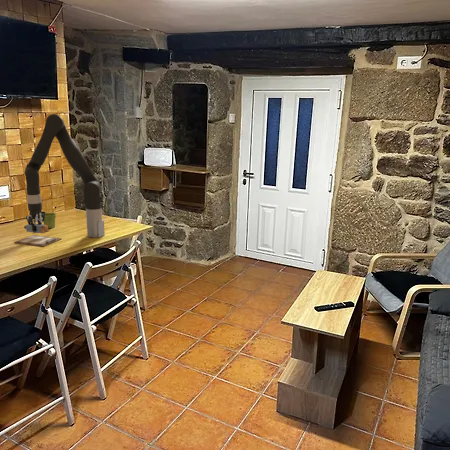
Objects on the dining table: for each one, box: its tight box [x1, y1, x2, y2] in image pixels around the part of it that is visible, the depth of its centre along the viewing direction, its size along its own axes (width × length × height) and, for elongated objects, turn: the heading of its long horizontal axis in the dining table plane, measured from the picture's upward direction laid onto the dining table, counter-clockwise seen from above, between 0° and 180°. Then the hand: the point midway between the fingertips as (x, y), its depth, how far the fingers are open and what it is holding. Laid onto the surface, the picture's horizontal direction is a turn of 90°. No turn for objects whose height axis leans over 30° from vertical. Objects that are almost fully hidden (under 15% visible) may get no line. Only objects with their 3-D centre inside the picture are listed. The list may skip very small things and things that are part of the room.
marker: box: [23, 223, 49, 234], centre depth 246 cm, size 14×4×4 cm, turn 74°
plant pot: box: [42, 212, 57, 229], centre depth 271 cm, size 9×9×9 cm
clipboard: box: [14, 234, 62, 247], centre depth 243 cm, size 20×15×2 cm
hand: (37, 230), depth 246 cm, fingers closed on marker, 4 cm apart
